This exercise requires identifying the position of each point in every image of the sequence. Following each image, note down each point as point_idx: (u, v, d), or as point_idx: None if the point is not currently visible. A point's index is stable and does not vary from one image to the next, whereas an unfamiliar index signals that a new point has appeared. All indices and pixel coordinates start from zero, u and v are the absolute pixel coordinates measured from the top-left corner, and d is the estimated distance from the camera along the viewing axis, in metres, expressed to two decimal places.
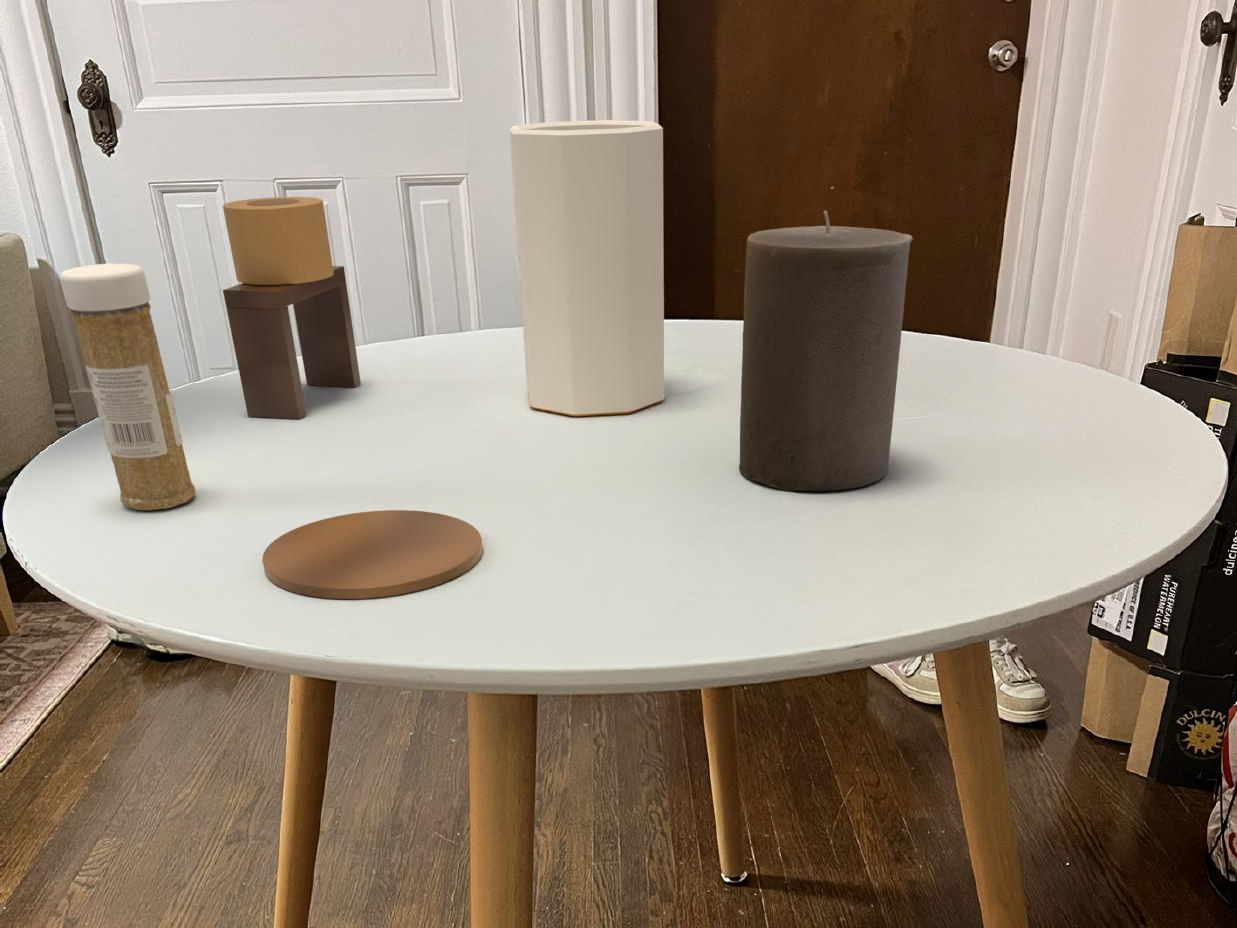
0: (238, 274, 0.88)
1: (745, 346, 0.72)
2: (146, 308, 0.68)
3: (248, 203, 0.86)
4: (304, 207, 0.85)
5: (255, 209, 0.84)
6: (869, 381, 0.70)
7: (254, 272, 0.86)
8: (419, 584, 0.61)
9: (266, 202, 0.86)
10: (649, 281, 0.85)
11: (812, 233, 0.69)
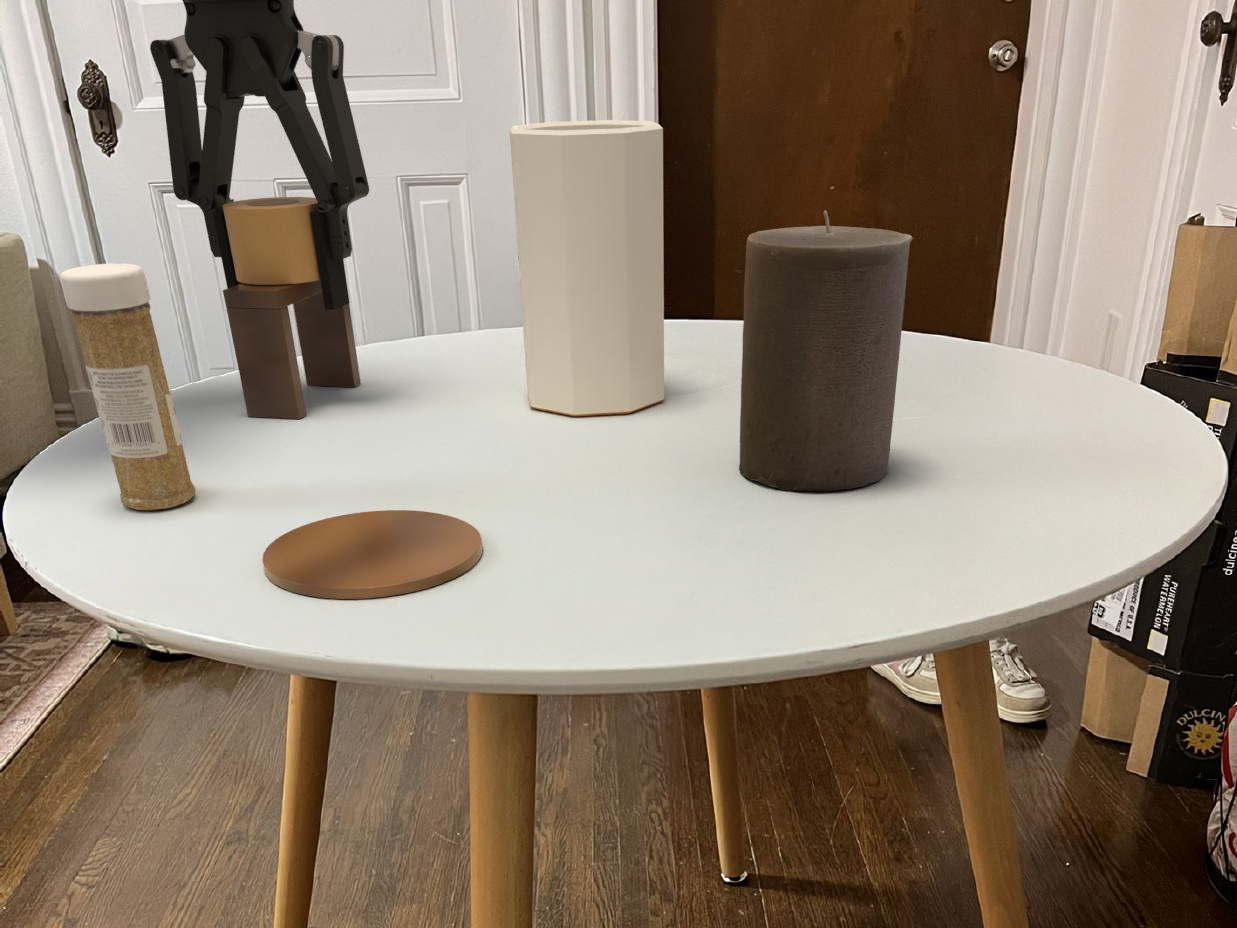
0: (238, 274, 0.88)
1: (745, 346, 0.72)
2: (146, 308, 0.68)
3: (248, 203, 0.86)
4: (304, 207, 0.85)
5: (255, 209, 0.84)
6: (869, 381, 0.70)
7: (254, 272, 0.86)
8: (419, 584, 0.61)
9: (266, 202, 0.86)
10: (649, 281, 0.85)
11: (812, 233, 0.69)
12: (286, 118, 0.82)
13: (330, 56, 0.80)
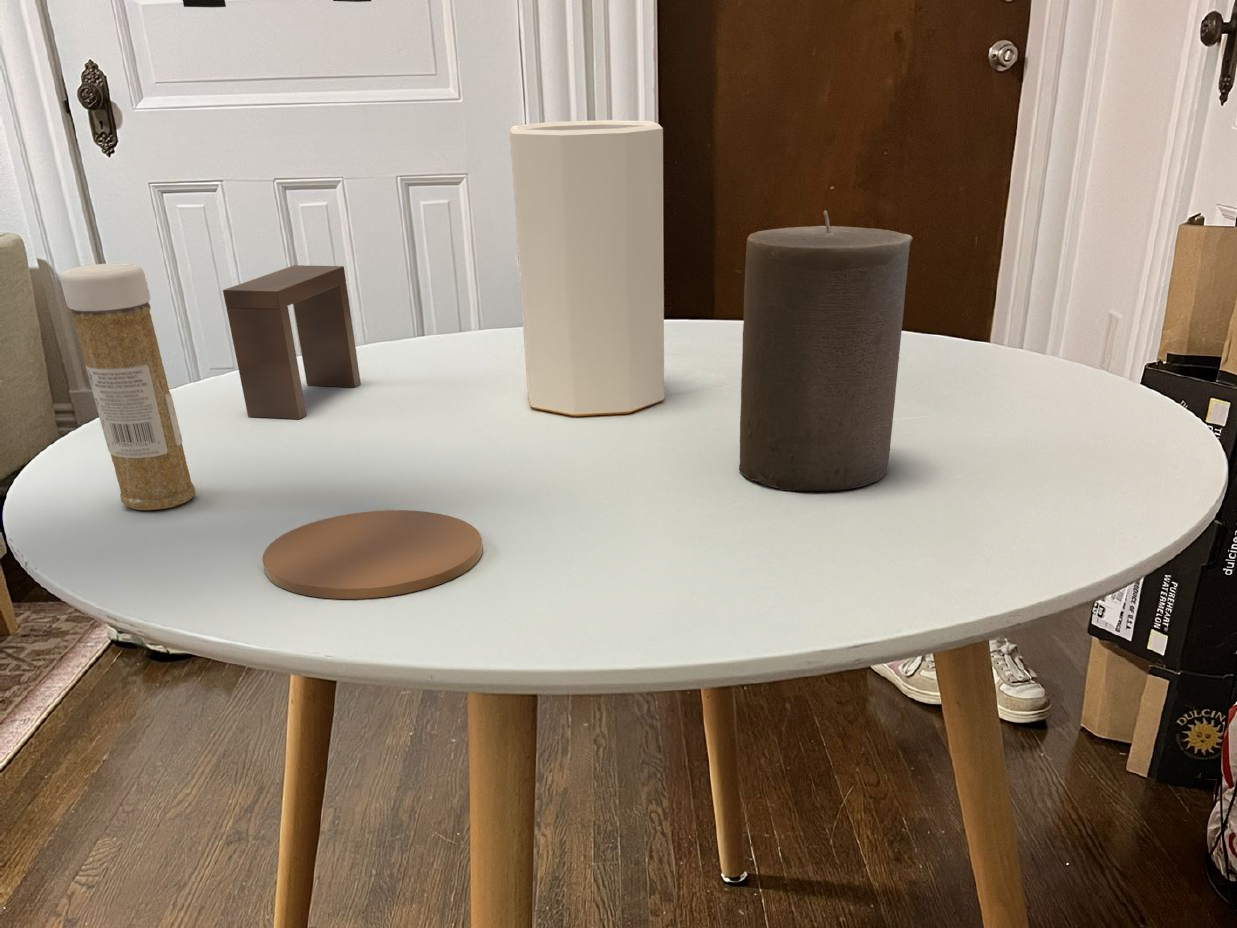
0: None
1: (745, 346, 0.72)
2: (146, 308, 0.68)
3: None
4: None
5: None
6: (869, 381, 0.70)
7: None
8: (419, 584, 0.61)
9: None
10: (649, 281, 0.85)
11: (812, 233, 0.69)
12: None
13: None
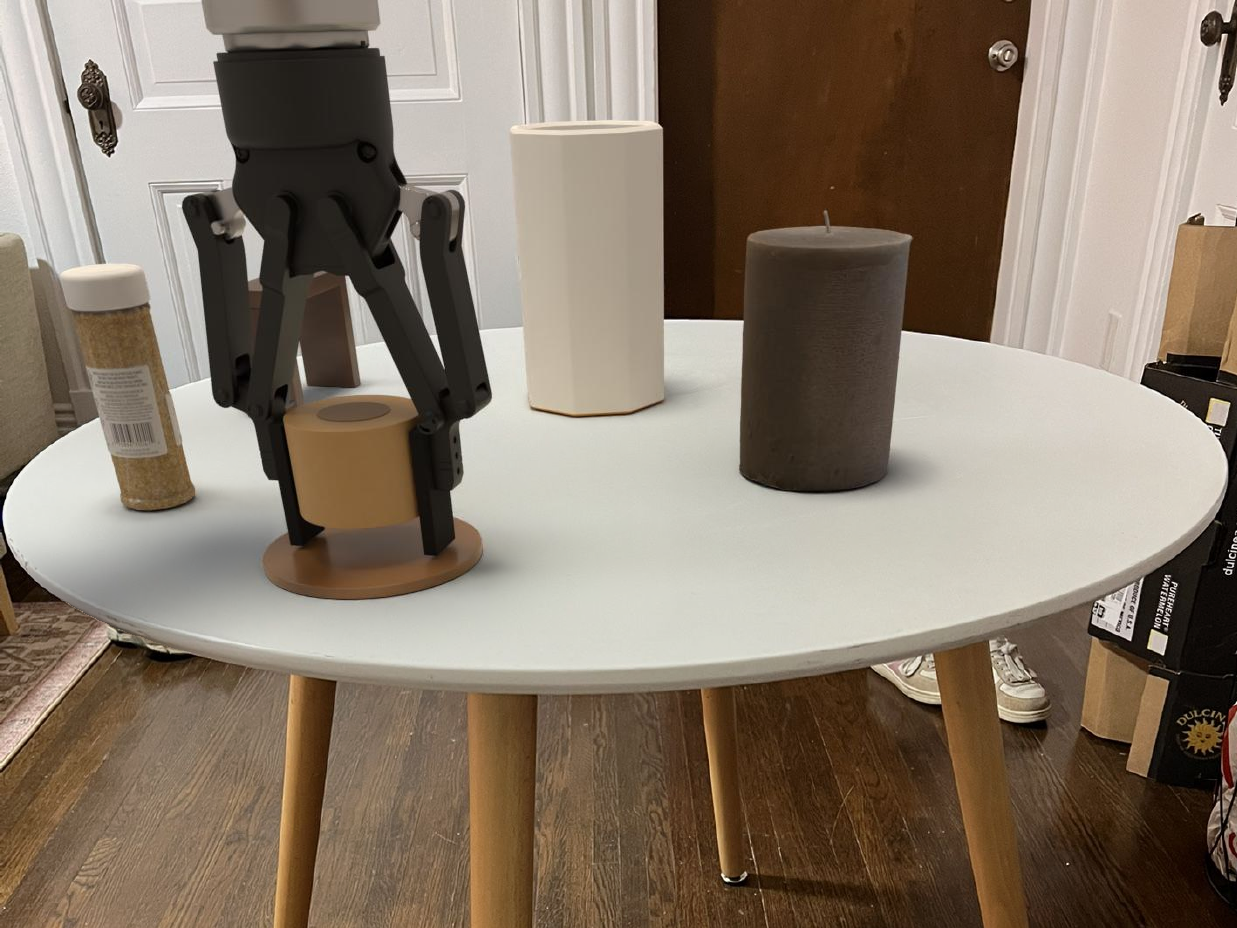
0: (303, 510, 0.62)
1: (745, 346, 0.72)
2: (146, 308, 0.68)
3: (319, 415, 0.61)
4: (401, 425, 0.59)
5: (332, 432, 0.58)
6: (869, 381, 0.70)
7: (327, 512, 0.61)
8: (419, 584, 0.61)
9: (344, 412, 0.61)
10: (649, 281, 0.85)
11: (812, 233, 0.69)
12: (379, 307, 0.57)
13: (448, 224, 0.54)
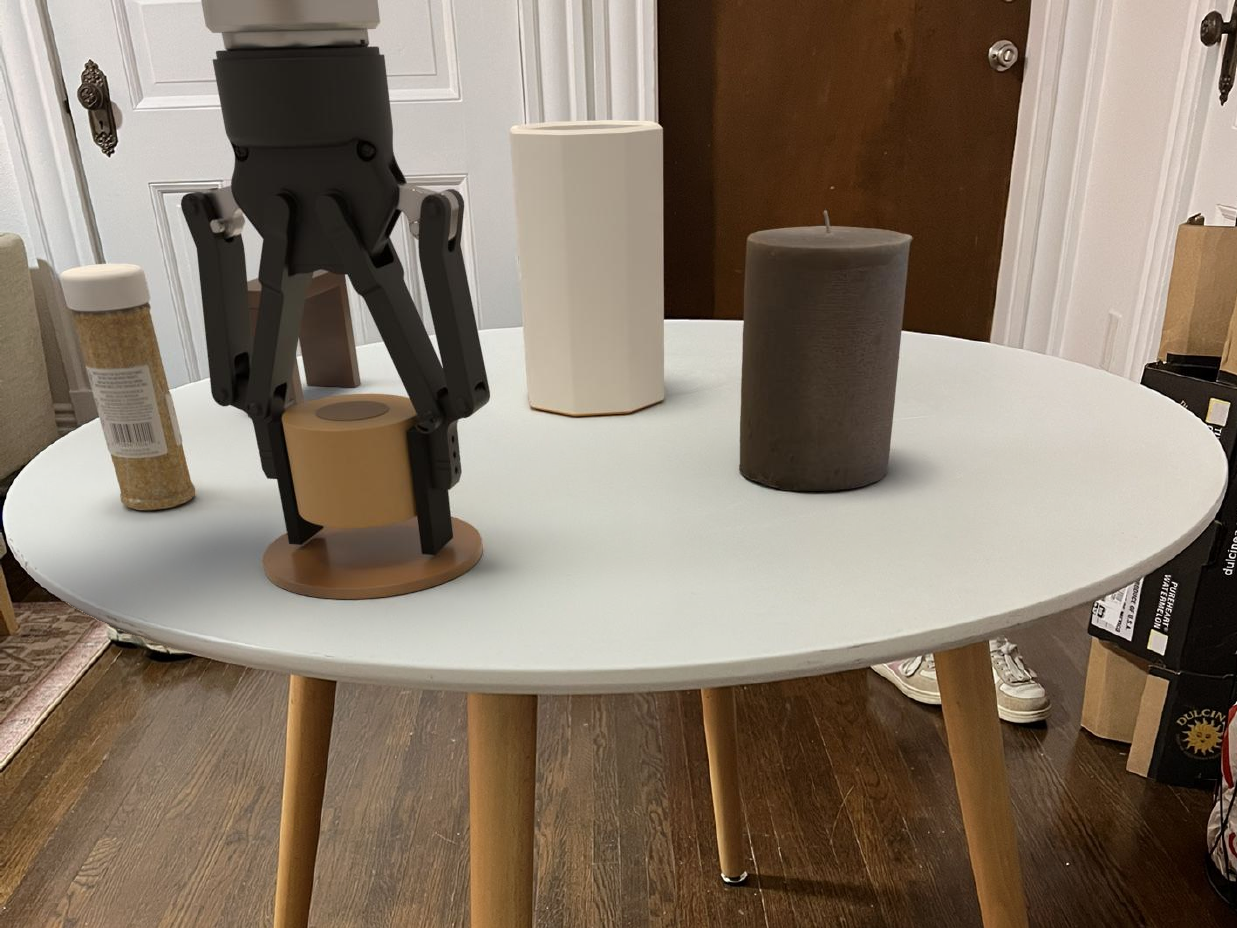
0: (302, 509, 0.62)
1: (745, 346, 0.72)
2: (146, 308, 0.68)
3: (318, 414, 0.61)
4: (400, 425, 0.59)
5: (331, 431, 0.58)
6: (869, 381, 0.70)
7: (325, 511, 0.61)
8: (419, 584, 0.61)
9: (343, 411, 0.61)
10: (649, 281, 0.85)
11: (812, 233, 0.69)
12: (378, 305, 0.57)
13: (447, 223, 0.54)
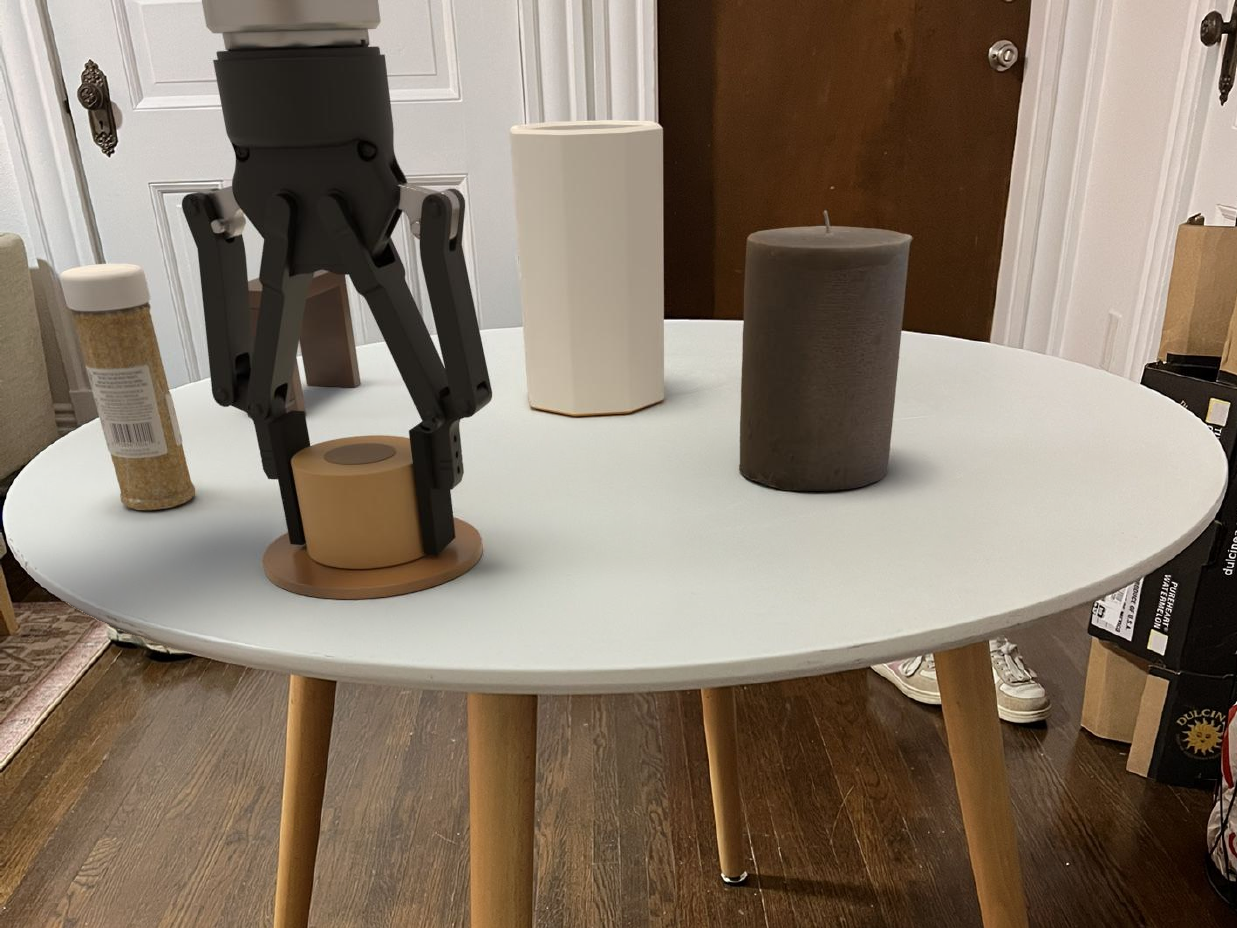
0: (311, 550, 0.63)
1: (745, 346, 0.72)
2: (146, 308, 0.68)
3: (326, 457, 0.62)
4: (407, 468, 0.61)
5: (339, 475, 0.60)
6: (869, 381, 0.70)
7: (334, 552, 0.62)
8: (419, 584, 0.61)
9: (351, 455, 0.62)
10: (649, 281, 0.85)
11: (812, 233, 0.69)
12: (379, 305, 0.57)
13: (448, 223, 0.54)
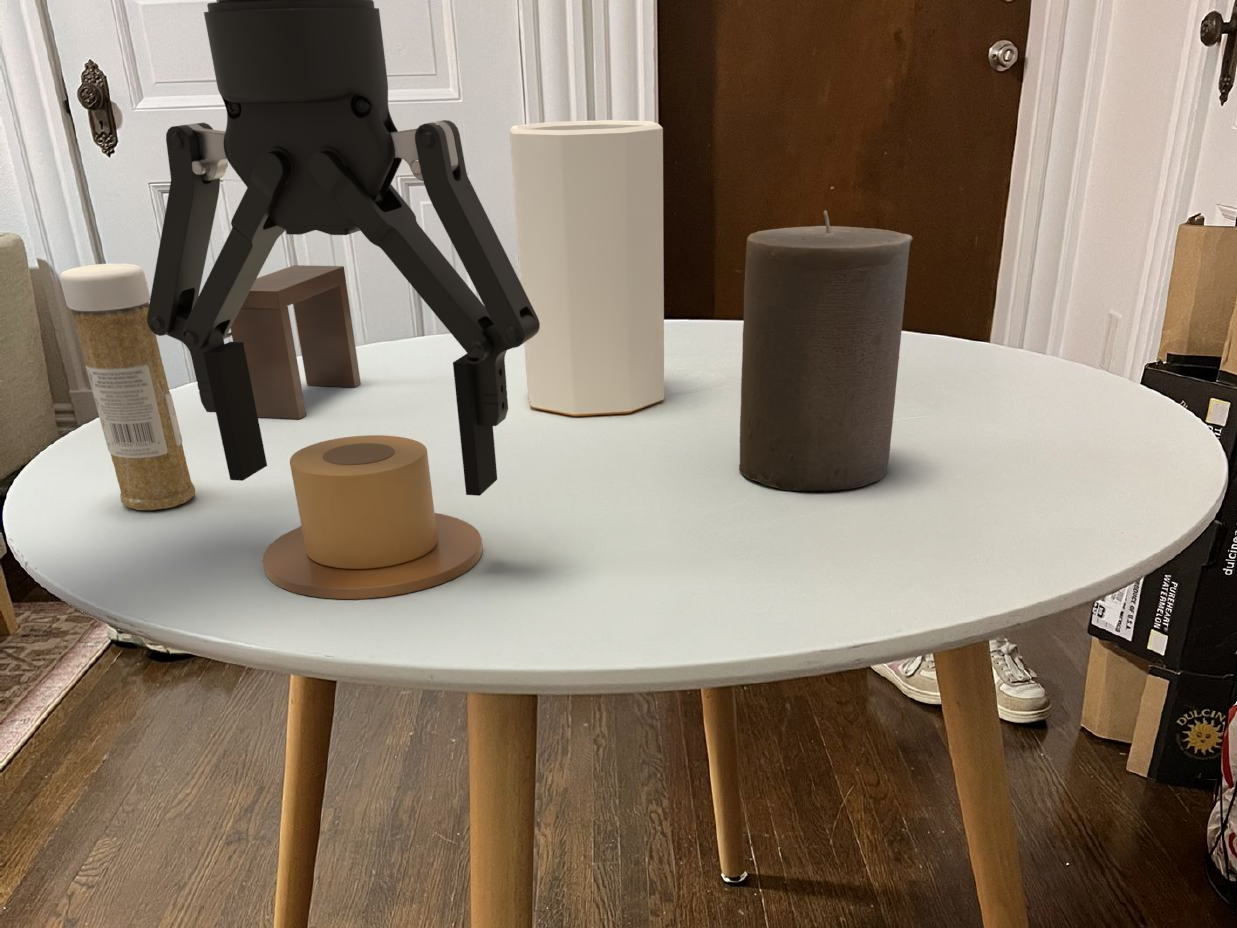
0: (309, 550, 0.63)
1: (745, 346, 0.72)
2: (146, 308, 0.68)
3: (325, 457, 0.62)
4: (405, 469, 0.61)
5: (338, 476, 0.60)
6: (869, 381, 0.70)
7: (333, 552, 0.62)
8: (419, 584, 0.61)
9: (349, 455, 0.62)
10: (649, 281, 0.85)
11: (812, 233, 0.69)
12: (396, 250, 0.55)
13: (445, 149, 0.52)
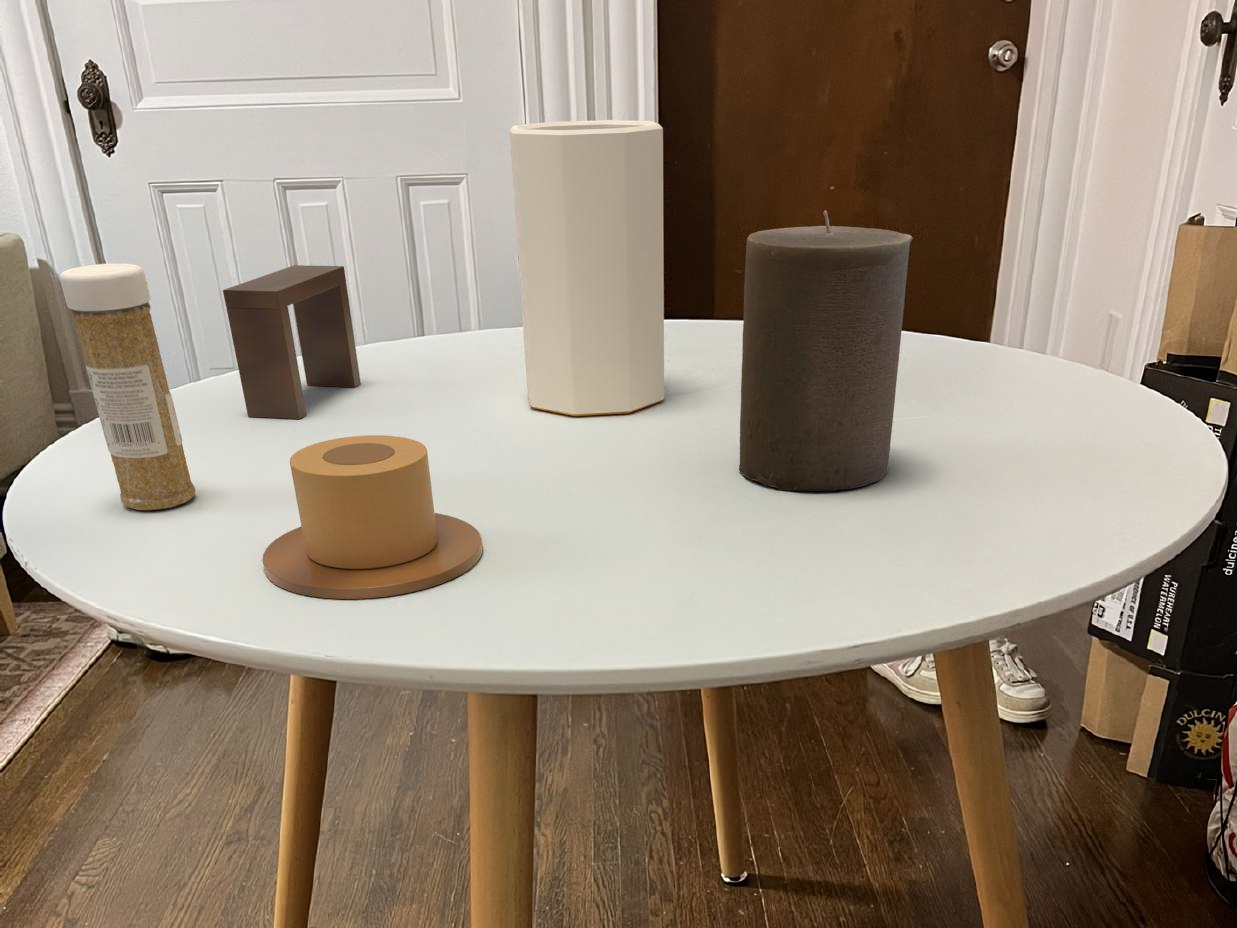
0: (309, 550, 0.63)
1: (745, 346, 0.72)
2: (146, 308, 0.68)
3: (325, 457, 0.62)
4: (405, 469, 0.61)
5: (338, 476, 0.60)
6: (869, 381, 0.70)
7: (333, 552, 0.62)
8: (419, 584, 0.61)
9: (349, 455, 0.62)
10: (649, 281, 0.85)
11: (812, 233, 0.69)
12: None
13: None
